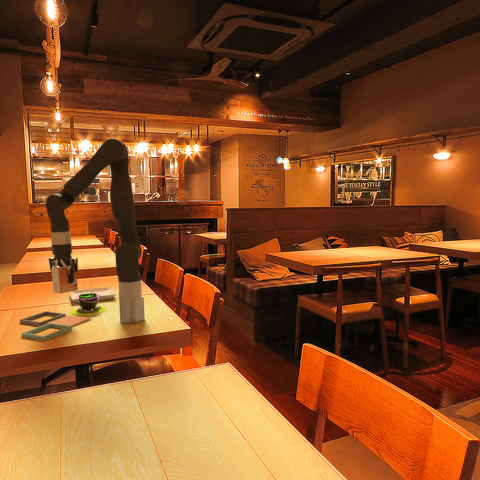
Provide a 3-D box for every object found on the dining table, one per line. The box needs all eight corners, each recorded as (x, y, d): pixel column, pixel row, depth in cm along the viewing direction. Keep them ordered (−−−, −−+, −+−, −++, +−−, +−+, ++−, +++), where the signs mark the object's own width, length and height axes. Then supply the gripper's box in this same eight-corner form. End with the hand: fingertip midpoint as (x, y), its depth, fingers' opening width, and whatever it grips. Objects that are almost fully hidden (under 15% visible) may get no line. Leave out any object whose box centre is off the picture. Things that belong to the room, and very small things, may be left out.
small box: (60, 294, 162) (57, 268, 161) (53, 292, 166) (50, 267, 165) (78, 290, 169) (76, 265, 168) (71, 288, 172) (69, 264, 171)
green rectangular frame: (72, 329, 158) (72, 326, 158) (44, 340, 146) (43, 336, 146) (51, 326, 163) (50, 322, 163) (21, 337, 151) (21, 333, 150)
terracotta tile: (90, 319, 171) (90, 318, 171) (68, 328, 160) (68, 326, 160) (69, 316, 176) (69, 315, 176) (46, 324, 165) (46, 323, 165)
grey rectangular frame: (65, 317, 176) (65, 313, 175) (39, 326, 163) (39, 322, 163) (46, 314, 180) (46, 311, 180) (19, 323, 168) (19, 319, 168)
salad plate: (70, 296, 215) (69, 290, 214) (111, 292, 224) (111, 286, 223) (71, 305, 196) (71, 299, 195) (117, 300, 205) (116, 294, 204)
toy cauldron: (94, 316, 176) (93, 292, 175) (64, 315, 179) (62, 290, 178) (112, 307, 191) (110, 284, 190) (83, 306, 194) (82, 283, 193)
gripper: (81, 241, 166) (85, 281, 168) (56, 241, 171) (59, 280, 173) (67, 244, 159) (71, 285, 161) (41, 243, 165) (45, 283, 166)
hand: (65, 282), depth 167 cm, fingers closed on small box, 6 cm apart
